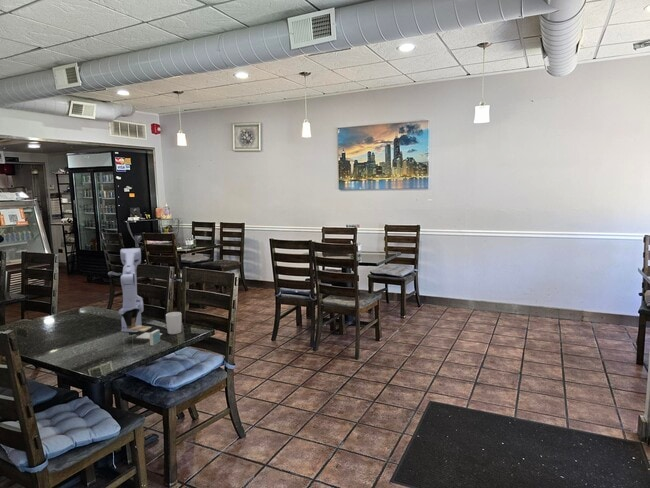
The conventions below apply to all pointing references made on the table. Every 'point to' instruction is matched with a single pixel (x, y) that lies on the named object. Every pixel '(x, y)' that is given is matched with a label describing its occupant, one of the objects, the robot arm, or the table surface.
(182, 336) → the table surface
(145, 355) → the table surface
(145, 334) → the felt mat
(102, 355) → the table surface
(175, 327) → the white cup
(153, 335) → the tile
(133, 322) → the turner
